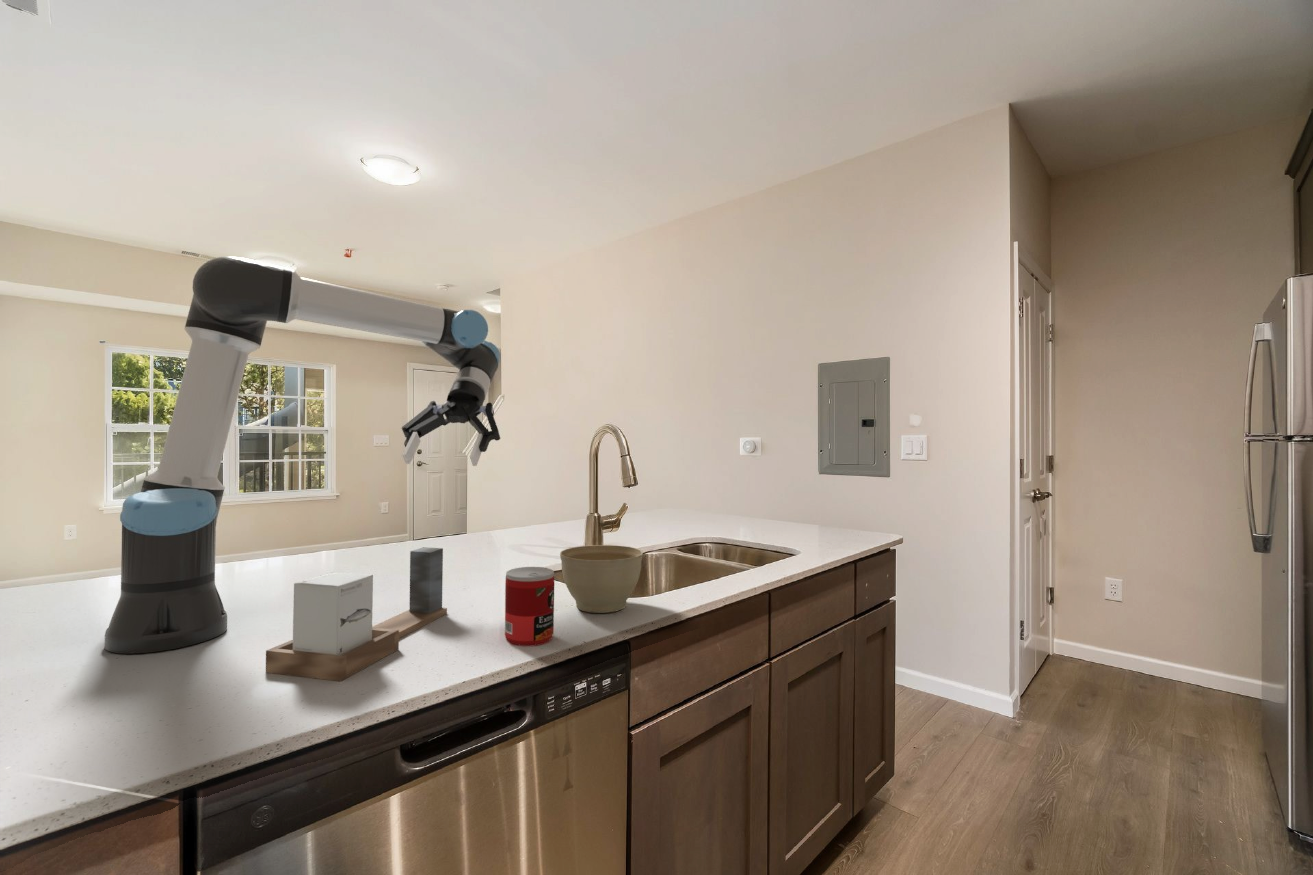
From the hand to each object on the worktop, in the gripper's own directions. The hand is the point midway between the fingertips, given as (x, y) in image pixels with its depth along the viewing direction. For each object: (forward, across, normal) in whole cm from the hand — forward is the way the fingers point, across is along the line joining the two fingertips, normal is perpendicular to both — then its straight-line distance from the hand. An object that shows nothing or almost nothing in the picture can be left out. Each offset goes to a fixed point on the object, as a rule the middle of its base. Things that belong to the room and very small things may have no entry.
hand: (439, 460), depth 116 cm
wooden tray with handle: (+35, 0, -4) cm, 36 cm away
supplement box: (+43, +1, +2) cm, 43 cm away
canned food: (+33, -24, -7) cm, 42 cm away
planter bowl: (+20, -33, -20) cm, 43 cm away
